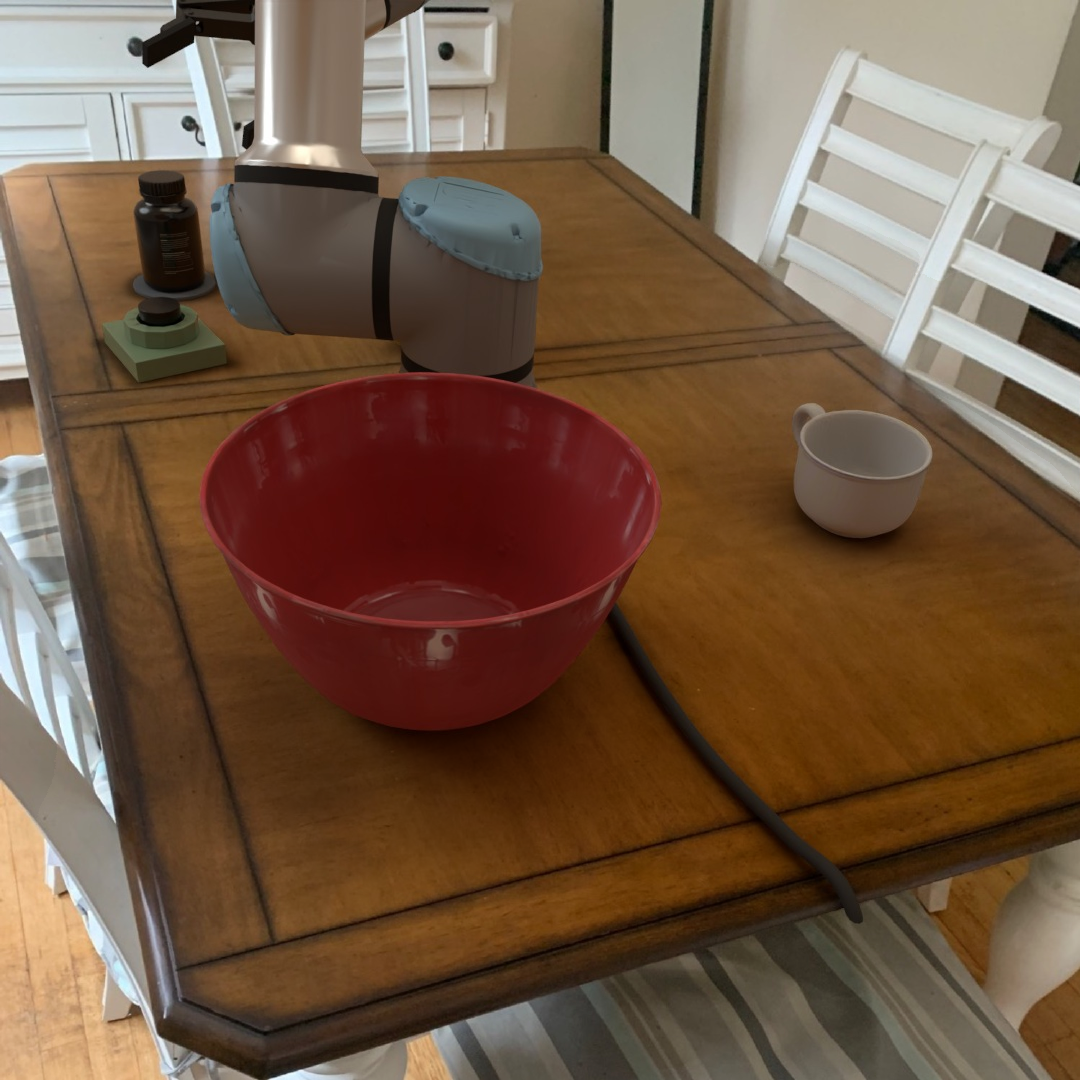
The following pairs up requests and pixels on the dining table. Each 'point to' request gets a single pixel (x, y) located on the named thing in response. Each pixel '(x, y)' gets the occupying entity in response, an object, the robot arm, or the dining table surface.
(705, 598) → the dining table surface
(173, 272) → the supplement bottle
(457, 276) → the robot arm
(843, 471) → the teacup
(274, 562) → the mixing bowl
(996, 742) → the dining table surface
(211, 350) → the button box
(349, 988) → the dining table surface
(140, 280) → the coaster
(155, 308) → the button
